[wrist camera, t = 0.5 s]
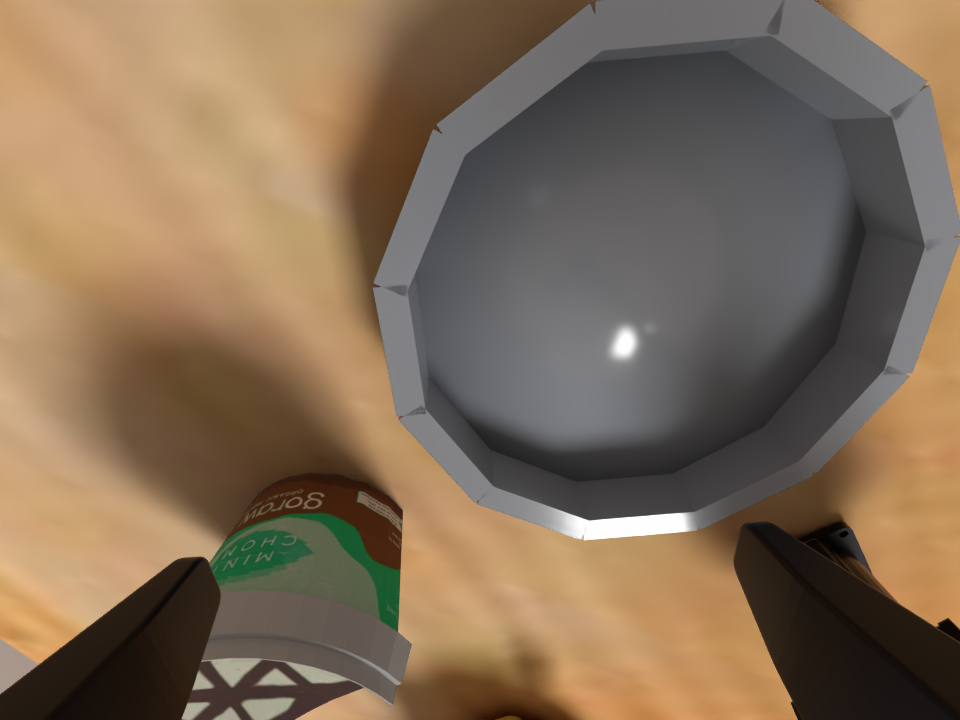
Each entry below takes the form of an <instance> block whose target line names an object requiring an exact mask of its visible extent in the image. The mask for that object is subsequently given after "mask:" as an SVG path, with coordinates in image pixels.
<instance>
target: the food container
mask: <svg viewBox="0 0 960 720" xmlns="http://www.w3.org/2000/svg"><path fill="white" fill-rule="evenodd" d="M402 520H403V511H402V510H401V509H400V508H399V507H398V505H397V504H396V503H395V502H394V501H393V500H392V499H391V498H390V497H388V496H386V495H385V494H383V493H382V492H380V491H378V490H377V489H375V488H373V487H372V486H370V485H368V484H367V483H364V482H361V481H357V480H354V479H351V478H347V477H344V476H341V475H333V474H314V473H308V474H303V475H298V476H293V477H288V478H285V479H283V480H280V481H278V482H276V483H274V484H272V485H270V486H269V487H267V488H266V489H264V490H263V491H262V492H261V493H260V494H259V495H258V496H257V497H256V498H255V500H254V501H253V502H252V503H251V505H250V506H249V508H248V509H247V510H246V512H245V513H244V515H243V516H242V518H241V519H240V520H239V522H238V523H237V525H236V526H235V527H234V529H233V530H232V532H231V533H230V535H229V536H228V537H227V539H226V540H225V542H224V543H223V544H222V546H221V547H220V549H219V550H218V551H217V553H216V554H215V556H214V557H213V559H212V560H211V561H210V563H209V564H210V566H211V569H212V571H213V573H214V576H215V578H216V580H217V583H218V585H219V587H220V592H221V600H220V605H219V609H218V612H217V615H216V618H215V621H214V624H213V627H212V630H211V634H210V637H209V640H208V643H207V646H206V649H205V652H204V655H203V659H202V662H201V665H200V668H199V671H198V674H197V677H196V680H195V684H194V687H193V690H192V692H191V695H190V698H189V701H188V704H187V706H186V709H185V711H184V714H183V716H182V719H181V720H295V719H296V718H298V717H300V716H302V715H304V714H305V713H307V712H309V711H311V710H313V709H315V708H317V707H319V706H321V705H323V704H325V703H327V702H329V701H331V700H333V699H336V698H338V697H341V696H343V695H346V694H349V693H351V692H354V691H356V690H359V689H362V688H366V689H368V690H369V691H371V692H373V693H375V694H376V695H378V696H379V697H380V698H382V699H383V700H384V701H385V702H387V703H388V704H389V705H390V706H392V705H393V703H394V696H395V690H396V685H400V684H401V683H402V680H403V676H404V672H405V668H406V664H407V661H408V657H409V653H410V649H411V645H412V644H411V643H410V642H409V641H407V640H406V639H405V638H404V637H403V636H402V635H401V634H400V633H398V618H399V593H400V569H401V544H402Z"/></svg>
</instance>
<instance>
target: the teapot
mask: <svg viewBox="0 0 960 720" xmlns="http://www.w3.org/2000/svg"><path fill="white" fill-rule="evenodd" d="M496 720H521V719H520V718H519V717H516V716H505V717H502V718H500V719H496Z"/></svg>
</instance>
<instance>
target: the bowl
mask: <svg viewBox="0 0 960 720" xmlns="http://www.w3.org/2000/svg"><path fill="white" fill-rule="evenodd" d="M926 82H927V80H925V79H924V78H922V77H921V76H920V75H918V74H917V73H915V72H914V71H913V70H911V69H910V68H908V67H907V66H906V65H904V64H903V63H901V62H900V61H899V60H897V59H896V58H894V57H893V56H892V55H890V54H889V53H887V52H886V51H885V50H883V49H882V48H880V47H879V46H878V45H876V44H875V43H873V42H872V41H871V40H869V39H868V38H866V37H865V36H864V35H862V34H861V33H859V32H858V31H857V30H855V29H854V28H852V27H851V26H850V25H848V24H847V23H845V22H844V21H843V20H841V19H840V18H838V17H837V16H836V15H834V14H833V13H831V12H830V11H829V10H827V9H826V8H824V7H823V6H822V5H820V4H819V3H817V2H816V1H815V0H600V1H595V2H594V3H593V4H592V5H590V4H588V5H587V6H586V7H585V8H583V9H582V10H581V11H579V12H578V13H577V14H576V15H574V16H573V17H572V18H571V19H569V20H568V21H567V22H566V23H564V24H563V25H562V26H561V27H559V28H558V29H557V30H555V31H554V32H553V33H552V34H550V35H549V36H548V37H547V38H545V39H544V40H543V41H542V42H540V43H539V44H538V45H536V46H535V47H534V48H533V49H531V50H530V51H529V52H528V53H526V54H525V55H524V56H523V57H521V58H520V59H519V60H517V61H516V62H515V63H514V64H512V65H511V66H510V67H509V68H507V69H506V70H505V71H504V72H502V73H501V74H500V75H499V76H497V77H496V78H495V79H493V80H492V81H491V82H490V83H488V84H487V85H486V86H485V87H483V88H482V89H481V90H480V91H478V92H477V93H476V94H474V95H473V96H472V97H471V98H469V99H468V100H467V101H466V102H464V103H463V104H462V105H461V106H459V107H458V108H457V109H456V110H454V111H453V112H452V113H450V114H449V115H448V116H447V117H445V118H444V119H443V120H442V121H440V122H439V123H438V124H437V126H438V128H439V129H440V131H439V130H435V129H433V131H432V133H431V136H430V138H429V141H428V144H427V146H426V149H425V151H424V154H423V156H422V159H421V162H420V164H419V167H418V169H417V172H416V174H415V177H414V180H413V182H412V185H411V187H410V190H409V192H408V195H407V198H406V200H405V203H404V205H403V208H402V210H401V213H400V216H399V218H398V221H397V223H396V226H395V228H394V231H393V234H392V236H391V239H390V241H389V244H388V246H387V249H386V252H385V254H384V257H383V259H382V262H381V264H380V267H379V270H378V272H377V275H376V277H375V280H374V282H373V283H374V284H375V285H374V287H373V292H374V297H375V302H376V308H377V313H378V319H379V324H380V329H381V335H382V340H383V346H384V351H385V356H386V362H387V367H388V373H389V378H390V383H391V389H392V394H393V399H394V405H395V410H396V416H399V419H398V420H399V421H400V422H401V423H402V424H403V425H404V426H405V428H406V429H407V430H408V431H409V432H410V433H411V434H412V435H413V436H414V437H415V438H416V440H417V441H418V442H419V443H420V444H421V445H422V446H423V447H424V448H425V449H426V450H427V452H428V453H429V454H430V455H431V456H432V457H433V458H434V459H435V460H436V461H437V462H438V463H439V465H440V466H441V467H442V468H443V469H444V470H445V471H446V472H447V473H448V474H449V475H450V477H451V478H452V479H453V480H454V481H455V482H456V483H457V484H458V485H459V486H460V487H461V488H462V490H463V491H464V492H465V493H466V494H467V495H468V496H469V497H470V498H471V499H472V500H473V502H476V501H477V504H478V505H481V506H484V507H487V508H490V509H492V510H495V511H498V512H501V513H504V514H507V515H510V516H513V517H516V518H519V519H522V520H524V521H527V522H530V523H533V524H536V525H539V526H542V527H545V528H548V529H551V530H554V531H557V532H559V533H562V534H565V535H568V536H571V537H574V538H577V539H581V538H582V537H583V540H590V539H602V538H614V537H626V536H638V535H650V534H662V533H674V532H687V531H697V529H698V526H699V528H700V529H703V528H705V527H707V526H710V525H712V524H714V523H716V522H718V521H720V520H722V519H724V518H726V517H728V516H731V515H733V514H735V513H737V512H739V511H741V510H743V509H745V508H747V507H749V506H752V505H754V504H756V503H758V502H760V501H762V500H764V499H766V498H768V497H771V496H773V495H775V494H777V493H779V492H781V491H783V490H785V489H787V488H789V487H792V486H794V485H796V484H798V483H800V482H802V481H804V480H806V479H808V478H810V477H813V476H812V474H811V472H812V473H815V474H817V473H818V472H819V470H820V469H821V468H822V467H823V466H824V465H825V464H826V463H827V462H828V461H829V460H830V459H831V458H832V457H833V456H834V455H835V454H836V453H837V452H838V451H839V450H840V449H841V448H842V447H843V446H844V445H845V444H846V442H847V441H848V440H849V439H850V438H851V437H852V436H853V435H854V434H855V433H856V432H857V431H858V430H859V429H860V428H861V427H862V426H863V425H864V424H865V423H866V422H867V421H868V420H869V419H870V418H871V417H872V416H873V414H874V413H875V412H876V411H877V410H878V409H879V408H880V407H881V406H882V405H883V404H884V403H885V402H886V401H887V400H888V399H889V398H890V397H891V396H892V395H893V394H894V393H895V392H896V391H897V390H898V389H899V388H900V386H901V385H902V384H903V383H904V382H905V381H906V380H907V379H908V378H909V377H910V376H908V375H906V374H905V373H913V370H914V367H915V364H916V362H917V359H918V356H919V353H920V351H921V348H922V345H923V342H924V340H925V337H926V334H927V331H928V329H929V326H930V323H931V320H932V318H933V315H934V312H935V309H936V306H937V304H938V301H939V298H940V295H941V293H942V290H943V287H944V284H945V282H946V279H947V276H948V273H949V271H950V268H951V265H952V262H953V260H954V257H955V254H956V251H957V249H958V246H959V243H960V236H956V235H958V234H960V220H959V215H958V211H957V206H956V202H955V197H954V193H953V188H952V184H951V179H950V174H949V170H948V165H947V161H946V156H945V152H944V147H943V143H942V138H941V134H940V129H939V124H938V120H937V115H936V111H935V106H934V102H933V97H932V93H931V88H930V85H926V86H924V85H925V83H926Z"/></svg>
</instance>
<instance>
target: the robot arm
mask: <svg viewBox="0 0 960 720" xmlns="http://www.w3.org/2000/svg"><path fill="white" fill-rule="evenodd" d="M734 568H735V572H736V574H737V577H738V579H739V582H740V584H741V586H742V589H743V591H744V594H745V596H746V598H747V601H748V603H749V606H750V608H751V611H752V613H753V615H754V618H755V620H756V623H757V625H758V627H759V630H760V632H761V635H762V637H763V640H764V642H765V644H766V647H767V649H768V652H769V654H770V656H771V658H772V661H773V663H774V665H775V667H776V669H777V671H778V673H779V675H780V677H781V679H782V681H783V683H784V685H785V687H786V689H787V691H788V693H789V695H790V697H791V699H792V702H791V705H792V707H793V709H794V712H795V714H796V716H797V718H798V720H960V628H958V627H957V626H956V625H955V624H954V623H953V622H952V621H951V620H950V619H949V618H947V619H945V620H943V621H941V622H939V623H937V624H938V625H939V626H937V627H935V626H933V625H932V624H930V623H928V622H927V621H925V620H924V619H922V618H921V617H919V616H917V615H916V614H914V613H913V612H911V611H910V610H908V609H906V608H905V607H903V606H902V605H900V604H899V603H898V602H897V601H896V600H895V599H894V598H893V597H892V596H891V594H890V593H889V592H888V591H887V590H886V589H885V588H884V587H883V586H882V585H881V584H880V583H879V582H878V580H877V579H876V578H875V577H874V576H873V574H872V572H871V570H870V568H869V565H868V563H867V561H866V559H865V557H864V554H863V552H862V550H861V548H860V546H859V543H858V541H857V539H856V537H855V535H854V532H853V530H852V529H851V528H850V527H849V526H848V525H847V524H846V523H843V522H842V523H837V524H834V525H832V526H830V527H828V528H825V529H823V530H821V531H819V532H817V533H814V534H812V535H810V536H808V537H805V538H803V539H801V540H798V539H796V538H795V537H793V536H792V535H790V534H788V533H787V532H785V531H784V530H782V529H781V528H779V527H777V526H776V525H774V524H772V523H769V522H754V523H746V524H744V525H743V526H742V527H741V530H740V534H739V538H738V542H737V546H736V550H735V554H734ZM220 600H221V592H220V587H219V585H218V583H217V580H216V578H215V576H214V573H213V571H212V569H211V566H210V564H209V562H208V560H207V559H205V558H204V557H187V558H180V559H177V560H175V561H174V562H172V563H171V564H170V565H168V566H167V567H166V568H165V569H163V570H162V571H161V572H159V573H158V574H157V575H155V576H154V577H153V578H151V579H150V580H149V581H148V582H146V583H145V584H144V585H142V586H141V587H140V588H138V589H137V590H136V591H134V592H133V593H132V594H131V595H129V596H128V597H127V598H125V599H124V600H123V601H121V602H120V603H119V604H118V605H116V606H115V607H114V608H112V609H111V610H110V611H108V612H107V613H106V614H104V615H103V616H102V617H101V618H99V619H98V620H97V621H95V622H94V623H93V624H91V625H90V626H89V627H87V628H86V629H85V630H84V631H82V632H81V633H80V634H78V635H77V636H76V637H74V638H73V639H72V640H70V641H69V642H68V643H67V644H65V645H64V646H63V647H61V648H60V649H59V650H57V651H56V652H55V653H53V654H52V655H51V656H50V657H48V658H47V659H46V660H44V661H43V662H42V663H40V664H39V665H38V666H37V667H35V668H34V669H33V670H31V671H30V672H29V673H27V674H26V675H25V676H23V677H22V678H21V679H20V680H18V681H17V682H16V683H14V684H13V685H12V686H10V687H9V688H8V689H7V690H5V691H4V692H3V693H1V694H0V720H181V719H182V716H183V714H184V711H185V709H186V706H187V704H188V701H189V698H190V695H191V692H192V690H193V687H194V684H195V680H196V677H197V674H198V671H199V668H200V665H201V662H202V659H203V655H204V652H205V649H206V646H207V643H208V640H209V637H210V634H211V630H212V627H213V624H214V621H215V618H216V615H217V612H218V609H219V605H220Z"/></svg>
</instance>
